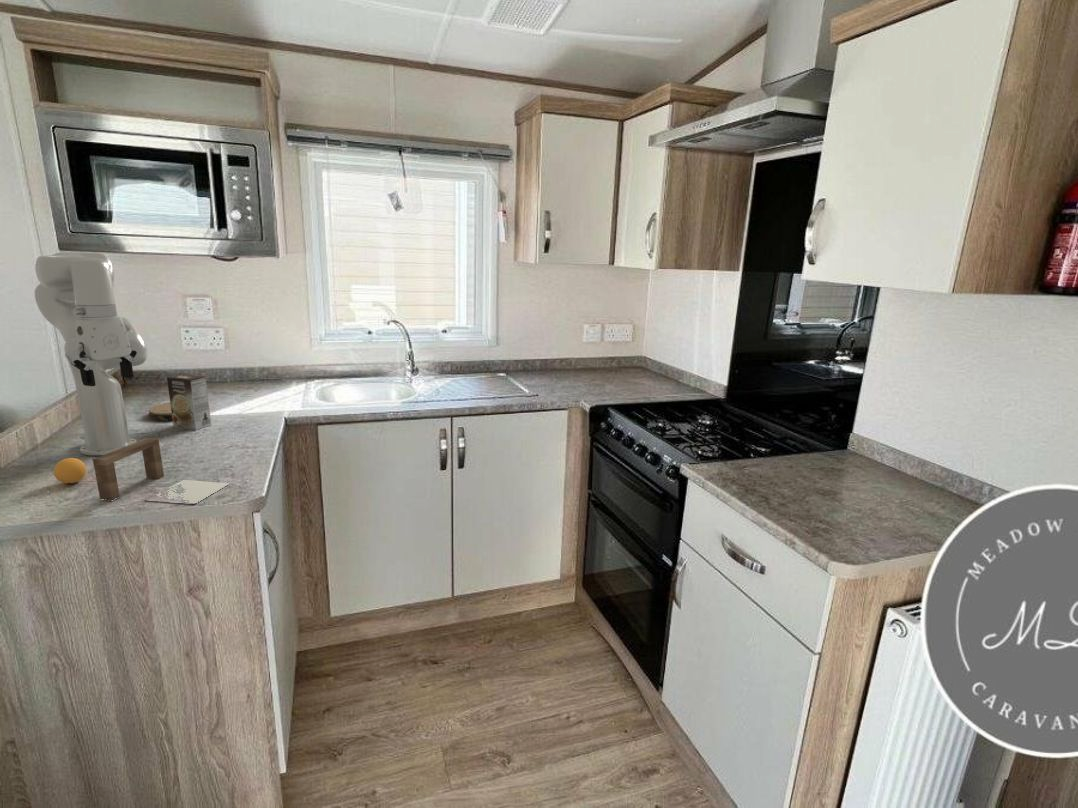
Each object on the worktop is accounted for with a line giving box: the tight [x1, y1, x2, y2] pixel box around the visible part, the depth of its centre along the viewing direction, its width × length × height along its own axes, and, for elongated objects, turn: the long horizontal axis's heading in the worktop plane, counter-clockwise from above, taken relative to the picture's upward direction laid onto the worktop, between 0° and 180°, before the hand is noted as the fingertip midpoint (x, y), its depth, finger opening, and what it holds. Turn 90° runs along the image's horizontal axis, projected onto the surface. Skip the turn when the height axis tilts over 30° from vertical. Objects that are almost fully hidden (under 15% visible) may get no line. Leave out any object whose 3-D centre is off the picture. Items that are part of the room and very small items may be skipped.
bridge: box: [92, 437, 165, 500], centre depth 132 cm, size 3×15×10 cm, turn 172°
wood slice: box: [148, 401, 173, 422], centre depth 191 cm, size 16×16×3 cm
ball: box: [53, 457, 88, 484], centre depth 135 cm, size 6×6×6 cm
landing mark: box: [155, 479, 231, 504], centre depth 132 cm, size 12×12×1 cm
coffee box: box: [166, 372, 212, 431], centre depth 178 cm, size 9×6×16 cm
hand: (109, 381), depth 142 cm, fingers open, 9 cm apart
